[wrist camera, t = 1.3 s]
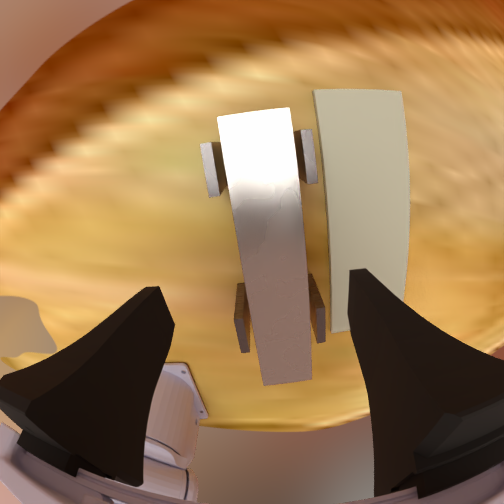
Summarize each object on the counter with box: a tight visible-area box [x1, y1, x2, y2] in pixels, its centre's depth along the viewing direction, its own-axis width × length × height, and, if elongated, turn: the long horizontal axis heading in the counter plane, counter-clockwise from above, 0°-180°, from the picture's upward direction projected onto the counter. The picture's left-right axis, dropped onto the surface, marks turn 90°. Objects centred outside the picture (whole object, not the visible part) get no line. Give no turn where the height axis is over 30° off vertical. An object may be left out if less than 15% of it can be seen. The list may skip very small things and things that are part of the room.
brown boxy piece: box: [234, 274, 325, 353], centre depth 21 cm, size 3×6×5 cm, turn 98°
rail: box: [217, 108, 312, 386], centre depth 16 cm, size 16×3×4 cm, turn 8°
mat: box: [312, 89, 410, 333], centre depth 20 cm, size 20×7×1 cm, turn 8°
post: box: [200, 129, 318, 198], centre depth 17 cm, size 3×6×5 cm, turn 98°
